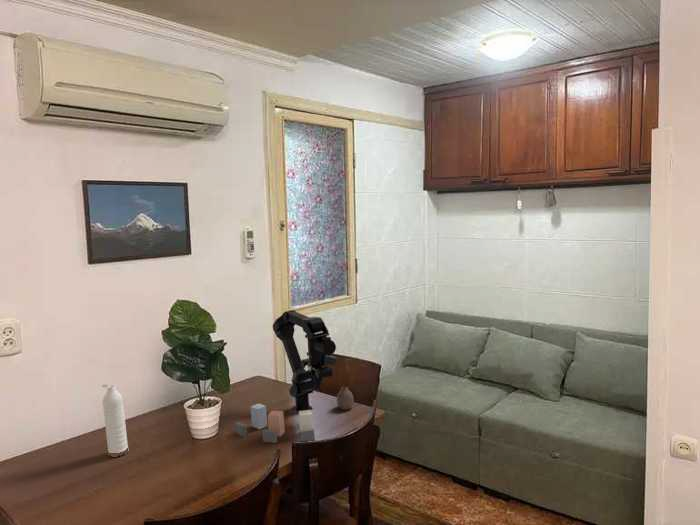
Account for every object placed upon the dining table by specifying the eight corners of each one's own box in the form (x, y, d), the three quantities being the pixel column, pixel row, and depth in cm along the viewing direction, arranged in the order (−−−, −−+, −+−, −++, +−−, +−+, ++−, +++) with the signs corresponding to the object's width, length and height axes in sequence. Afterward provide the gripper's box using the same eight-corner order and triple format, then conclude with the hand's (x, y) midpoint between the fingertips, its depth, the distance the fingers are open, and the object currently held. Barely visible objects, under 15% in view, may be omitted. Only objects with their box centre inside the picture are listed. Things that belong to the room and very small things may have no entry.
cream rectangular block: (300, 431, 198) (298, 411, 197) (312, 430, 199) (310, 409, 198) (300, 436, 194) (299, 415, 193) (313, 434, 195) (311, 414, 194)
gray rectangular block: (260, 422, 208) (258, 403, 207) (267, 425, 205) (265, 406, 204) (252, 426, 205) (250, 406, 204) (259, 429, 202) (257, 409, 201)
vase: (354, 404, 222) (353, 384, 221) (353, 411, 215) (351, 390, 214) (338, 404, 222) (337, 384, 221) (336, 411, 216) (335, 390, 215)
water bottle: (131, 452, 189) (124, 385, 186) (113, 460, 184) (105, 390, 181) (120, 446, 195) (113, 380, 192) (102, 452, 190) (95, 385, 187)
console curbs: (230, 438, 196) (229, 428, 196) (237, 431, 201) (236, 421, 201) (310, 446, 186) (309, 435, 186) (316, 439, 192) (315, 428, 191)
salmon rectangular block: (273, 430, 200) (272, 410, 199) (284, 431, 199) (283, 411, 198) (269, 435, 196) (267, 414, 195) (280, 436, 195) (278, 415, 194)
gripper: (344, 351, 202) (346, 391, 204) (324, 341, 219) (326, 378, 221) (318, 357, 197) (320, 397, 199) (299, 346, 214) (301, 383, 216)
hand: (317, 388), depth 209 cm, fingers closed
